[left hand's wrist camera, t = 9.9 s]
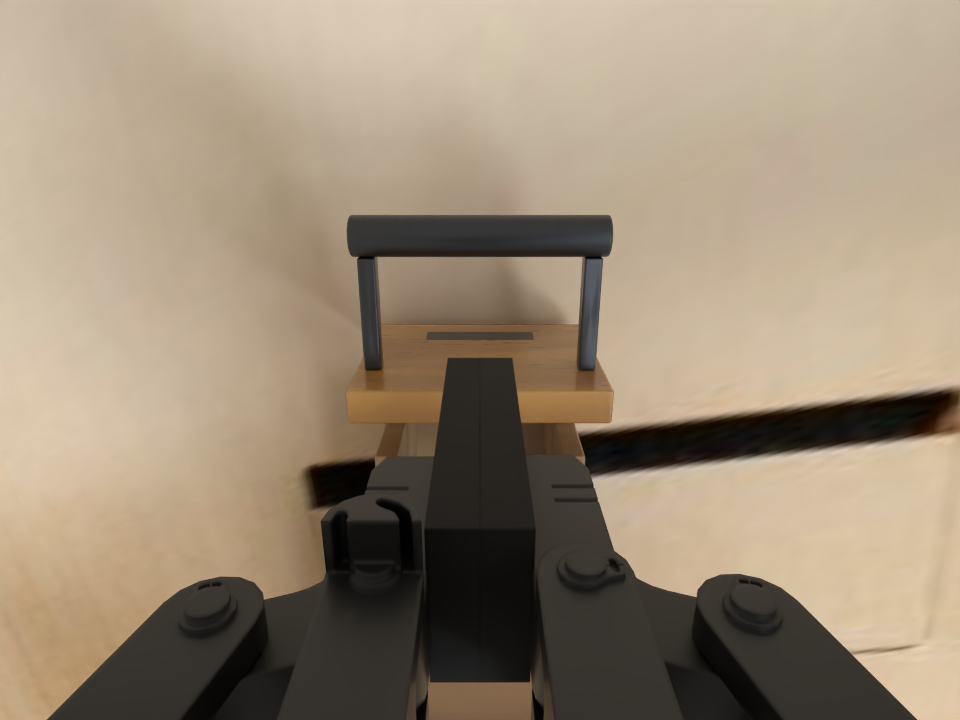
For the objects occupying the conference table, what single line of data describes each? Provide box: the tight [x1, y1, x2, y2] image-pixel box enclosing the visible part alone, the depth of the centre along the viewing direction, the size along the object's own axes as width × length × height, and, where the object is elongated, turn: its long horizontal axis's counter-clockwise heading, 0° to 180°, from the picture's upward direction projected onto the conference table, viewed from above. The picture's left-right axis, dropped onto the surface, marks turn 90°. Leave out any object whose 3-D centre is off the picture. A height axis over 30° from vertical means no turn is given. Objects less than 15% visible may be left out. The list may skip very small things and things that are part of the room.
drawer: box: [346, 215, 614, 467], centre depth 27 cm, size 26×9×7 cm, turn 0°
